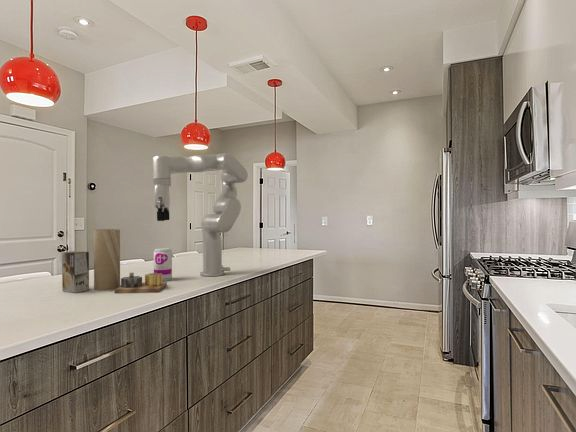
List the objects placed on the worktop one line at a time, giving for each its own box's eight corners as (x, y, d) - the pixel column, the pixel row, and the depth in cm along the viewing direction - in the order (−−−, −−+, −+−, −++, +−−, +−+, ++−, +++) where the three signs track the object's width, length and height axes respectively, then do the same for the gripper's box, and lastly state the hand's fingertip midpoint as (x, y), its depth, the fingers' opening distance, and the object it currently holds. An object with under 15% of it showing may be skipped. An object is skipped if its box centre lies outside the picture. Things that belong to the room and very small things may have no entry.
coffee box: (90, 290, 149) (89, 251, 149) (74, 293, 143) (74, 253, 143) (76, 288, 153) (76, 250, 153) (61, 291, 148) (61, 252, 148)
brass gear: (164, 283, 156) (164, 272, 156) (159, 286, 149) (159, 275, 149) (147, 283, 156) (147, 273, 156) (142, 286, 149) (142, 275, 149)
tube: (88, 289, 150) (88, 230, 150) (105, 285, 159) (105, 229, 159) (108, 291, 147) (108, 230, 147) (125, 286, 157) (125, 229, 157)
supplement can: (168, 281, 168) (168, 249, 168) (151, 281, 168) (150, 249, 168) (174, 278, 176) (174, 248, 176) (157, 278, 176) (157, 248, 176)
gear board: (166, 285, 159) (166, 269, 159) (158, 292, 145) (158, 274, 145) (126, 286, 157) (126, 270, 157) (114, 293, 143) (114, 275, 143)
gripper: (158, 184, 172) (159, 220, 173) (148, 181, 155) (149, 221, 155) (174, 184, 173) (175, 219, 173) (166, 181, 156) (167, 221, 156)
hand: (163, 220), depth 164 cm, fingers open, 9 cm apart
